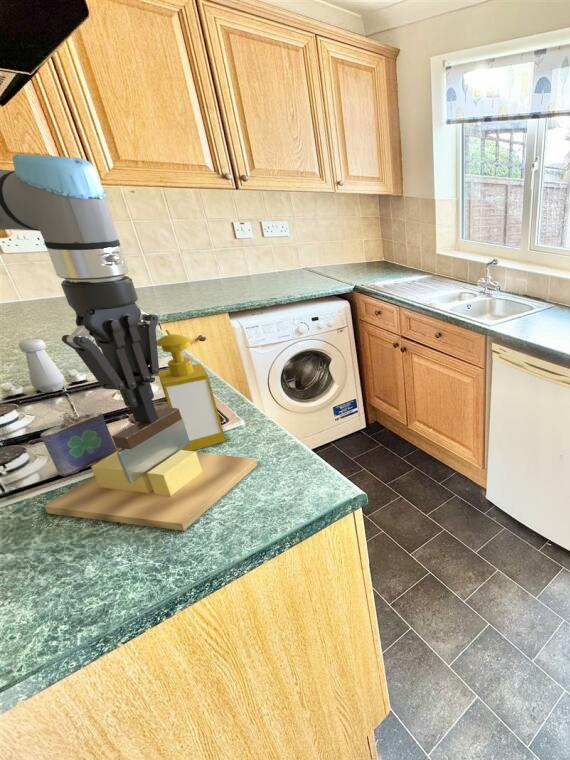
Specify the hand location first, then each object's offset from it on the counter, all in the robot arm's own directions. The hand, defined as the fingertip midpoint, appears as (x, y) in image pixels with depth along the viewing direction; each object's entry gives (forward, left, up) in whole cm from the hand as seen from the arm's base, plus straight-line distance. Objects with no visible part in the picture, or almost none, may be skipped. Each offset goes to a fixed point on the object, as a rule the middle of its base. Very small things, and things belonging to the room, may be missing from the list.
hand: (147, 420), depth 70 cm
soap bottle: (-9, +17, -14) cm, 24 cm away
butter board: (-2, 0, -14) cm, 14 cm away
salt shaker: (-59, +29, -14) cm, 67 cm away
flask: (-21, +4, -14) cm, 26 cm away
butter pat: (+2, 0, -13) cm, 13 cm away
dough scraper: (0, 0, -9) cm, 9 cm away
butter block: (-5, 0, -13) cm, 14 cm away
